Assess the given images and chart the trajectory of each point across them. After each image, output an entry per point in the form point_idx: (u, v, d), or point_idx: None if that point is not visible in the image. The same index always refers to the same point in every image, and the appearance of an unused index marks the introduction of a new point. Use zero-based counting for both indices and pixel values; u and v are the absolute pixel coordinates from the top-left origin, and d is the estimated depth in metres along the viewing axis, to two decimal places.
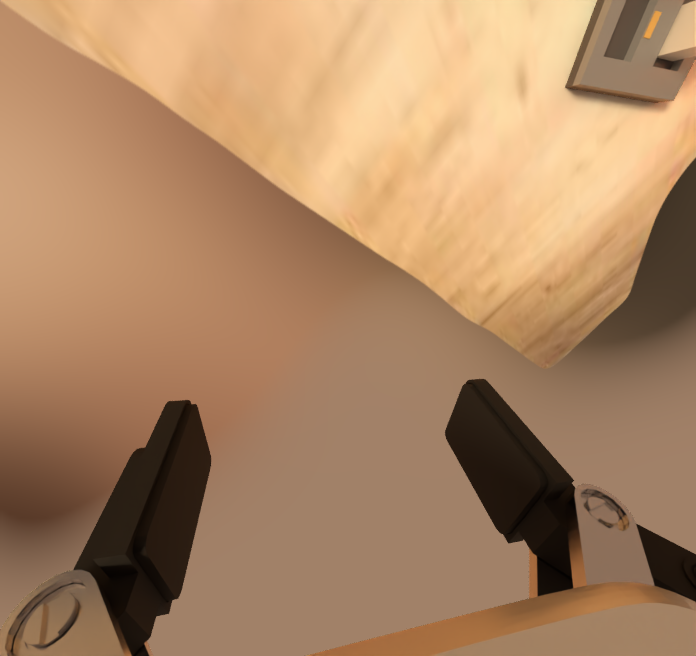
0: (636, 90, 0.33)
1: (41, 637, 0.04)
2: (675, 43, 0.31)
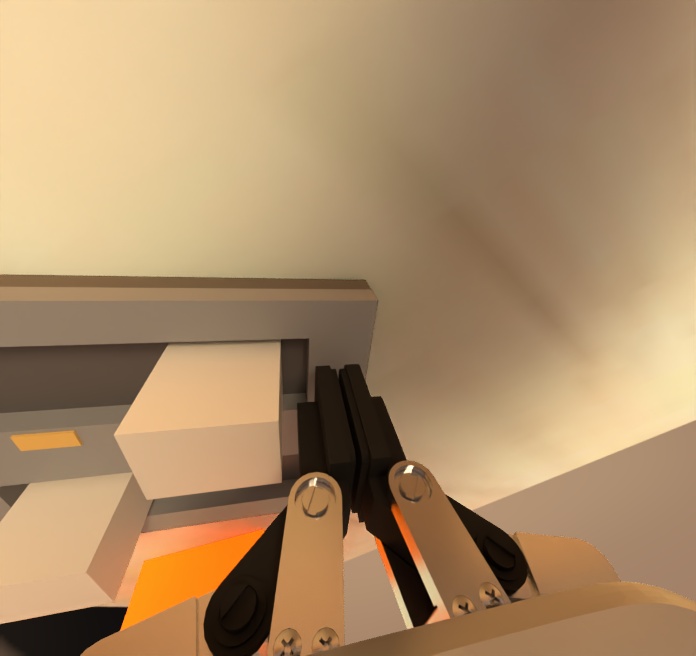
0: None
1: (308, 507, 0.06)
2: (28, 511, 0.12)
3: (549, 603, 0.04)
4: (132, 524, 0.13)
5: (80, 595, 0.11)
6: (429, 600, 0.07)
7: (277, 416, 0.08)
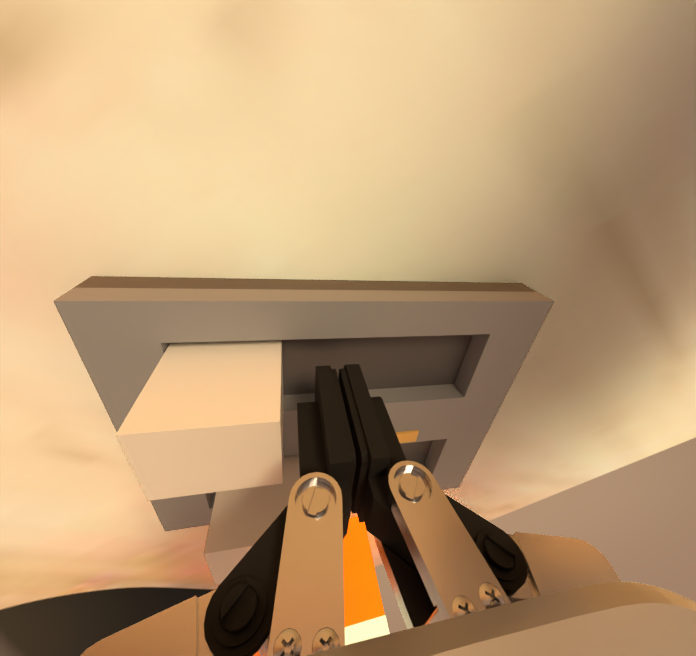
0: None
1: (308, 507, 0.06)
2: None
3: (549, 603, 0.04)
4: None
5: None
6: (429, 600, 0.07)
7: (279, 416, 0.08)
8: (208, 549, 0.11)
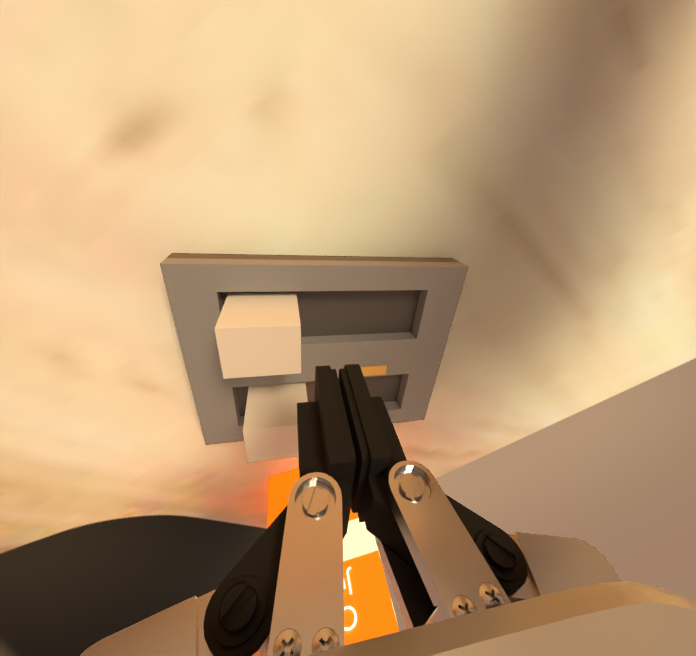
0: (195, 382, 0.19)
1: (308, 507, 0.06)
2: (258, 399, 0.19)
3: (549, 603, 0.04)
4: None
5: None
6: (429, 600, 0.07)
7: (300, 324, 0.14)
8: (245, 428, 0.17)
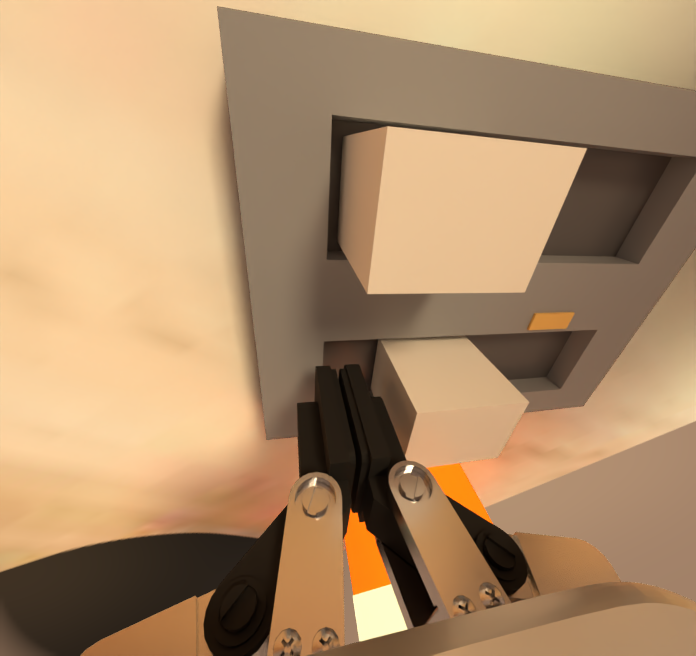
0: (262, 328, 0.10)
1: (308, 507, 0.06)
2: (409, 360, 0.11)
3: (549, 603, 0.04)
4: None
5: (490, 440, 0.10)
6: (429, 600, 0.07)
7: None
8: (419, 409, 0.09)
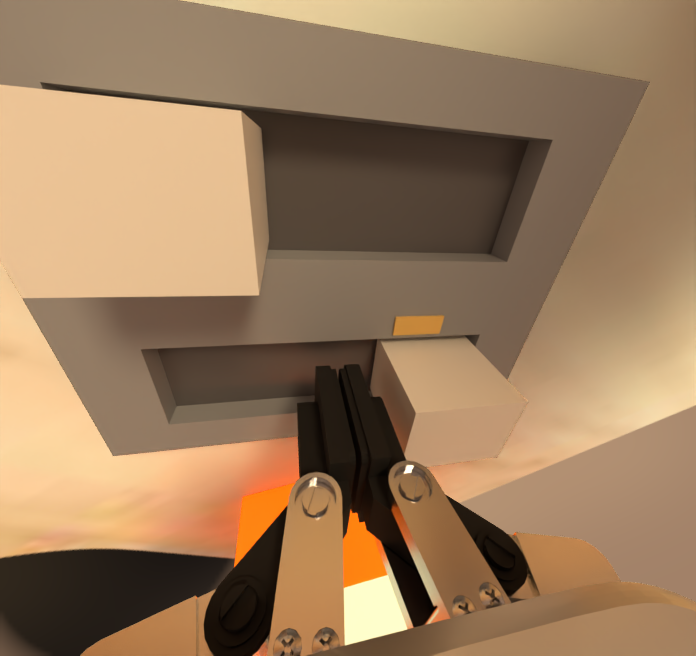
0: (55, 335, 0.09)
1: (308, 507, 0.06)
2: (408, 360, 0.11)
3: (549, 603, 0.04)
4: None
5: (489, 439, 0.10)
6: (429, 600, 0.07)
7: (240, 111, 0.04)
8: (418, 409, 0.09)
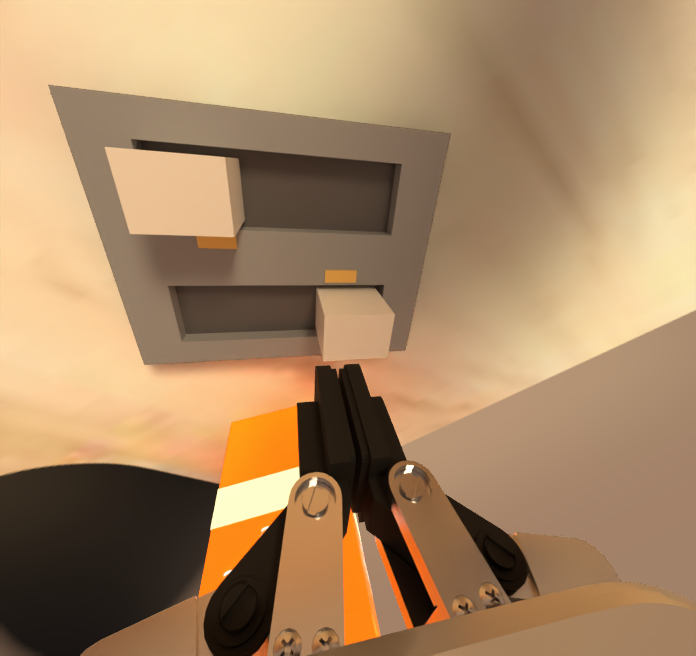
0: (119, 274, 0.15)
1: (308, 507, 0.06)
2: (331, 297, 0.17)
3: (549, 603, 0.04)
4: None
5: (377, 341, 0.17)
6: (429, 600, 0.07)
7: (224, 157, 0.11)
8: (326, 315, 0.15)
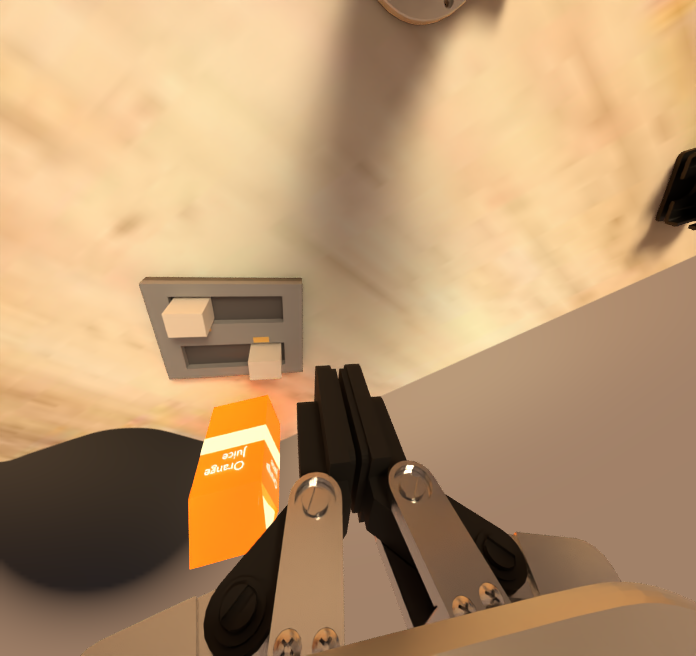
0: (160, 342, 0.36)
1: (308, 507, 0.06)
2: (255, 350, 0.38)
3: (549, 603, 0.04)
4: (281, 360, 0.39)
5: (275, 371, 0.37)
6: (429, 600, 0.07)
7: (202, 312, 0.31)
8: (249, 361, 0.36)
